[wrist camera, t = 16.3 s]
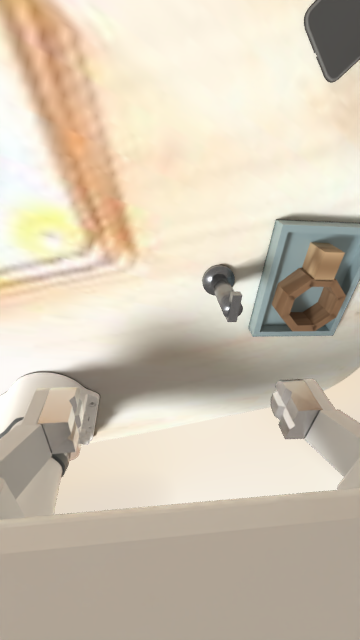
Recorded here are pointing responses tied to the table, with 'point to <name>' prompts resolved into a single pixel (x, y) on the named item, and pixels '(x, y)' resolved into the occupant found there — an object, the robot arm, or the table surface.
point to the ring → (313, 273)
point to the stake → (223, 290)
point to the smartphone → (334, 35)
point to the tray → (290, 255)
